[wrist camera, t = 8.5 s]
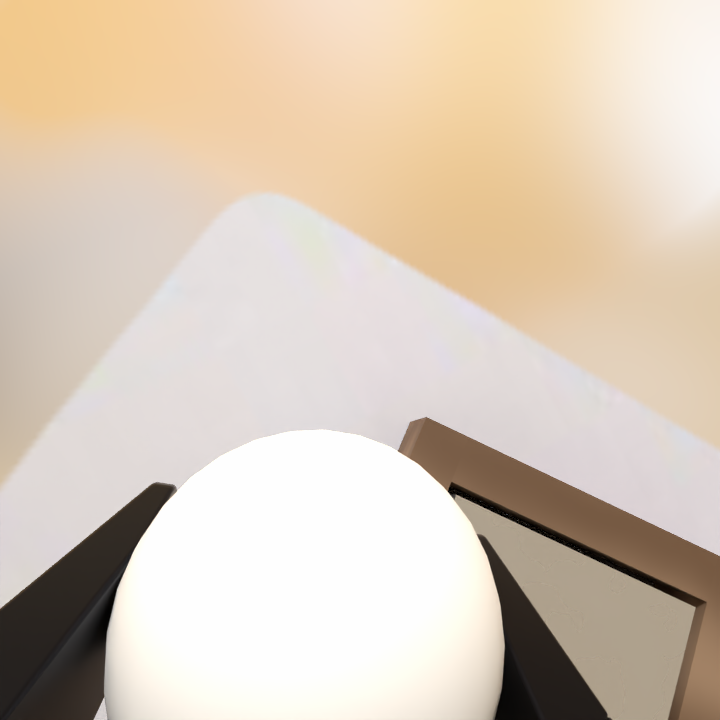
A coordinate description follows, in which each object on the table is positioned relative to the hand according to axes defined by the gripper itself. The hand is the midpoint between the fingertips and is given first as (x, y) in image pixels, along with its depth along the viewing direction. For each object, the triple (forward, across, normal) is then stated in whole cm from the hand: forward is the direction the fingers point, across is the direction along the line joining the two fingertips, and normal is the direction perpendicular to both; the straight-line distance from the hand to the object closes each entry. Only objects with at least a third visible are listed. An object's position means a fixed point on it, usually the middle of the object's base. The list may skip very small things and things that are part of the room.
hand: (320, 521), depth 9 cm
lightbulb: (+4, 0, +6) cm, 7 cm away
